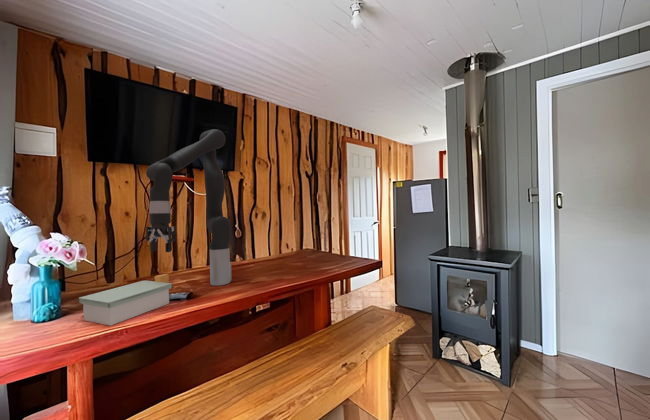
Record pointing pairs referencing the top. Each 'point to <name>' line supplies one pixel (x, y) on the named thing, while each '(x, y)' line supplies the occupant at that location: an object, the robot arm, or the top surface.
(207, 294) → the top surface
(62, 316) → the top surface
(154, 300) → the tub
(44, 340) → the top surface
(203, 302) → the top surface
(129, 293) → the lid
